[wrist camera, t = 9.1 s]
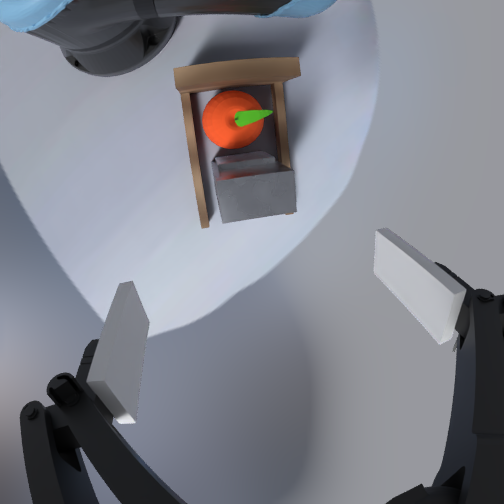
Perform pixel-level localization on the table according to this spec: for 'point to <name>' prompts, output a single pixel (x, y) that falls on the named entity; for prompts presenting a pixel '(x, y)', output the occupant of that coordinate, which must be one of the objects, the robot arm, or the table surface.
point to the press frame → (232, 77)
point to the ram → (253, 186)
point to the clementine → (233, 119)
